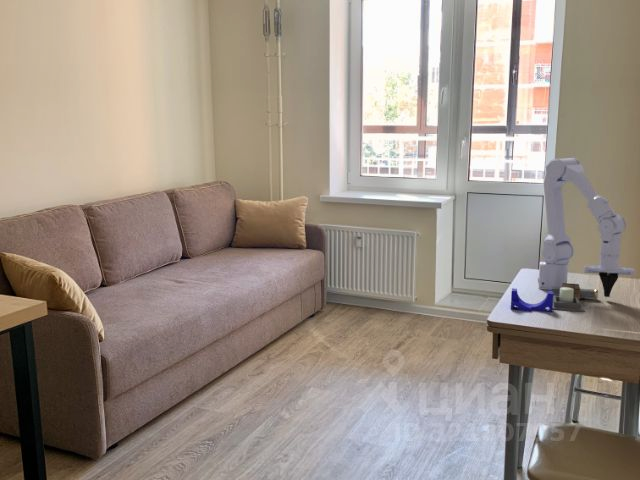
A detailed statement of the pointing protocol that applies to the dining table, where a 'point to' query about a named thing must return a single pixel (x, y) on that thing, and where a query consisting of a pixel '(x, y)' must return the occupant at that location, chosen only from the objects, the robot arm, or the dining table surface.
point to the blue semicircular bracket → (528, 307)
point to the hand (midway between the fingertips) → (606, 296)
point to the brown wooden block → (576, 289)
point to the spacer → (566, 295)
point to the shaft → (583, 293)
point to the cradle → (567, 305)
